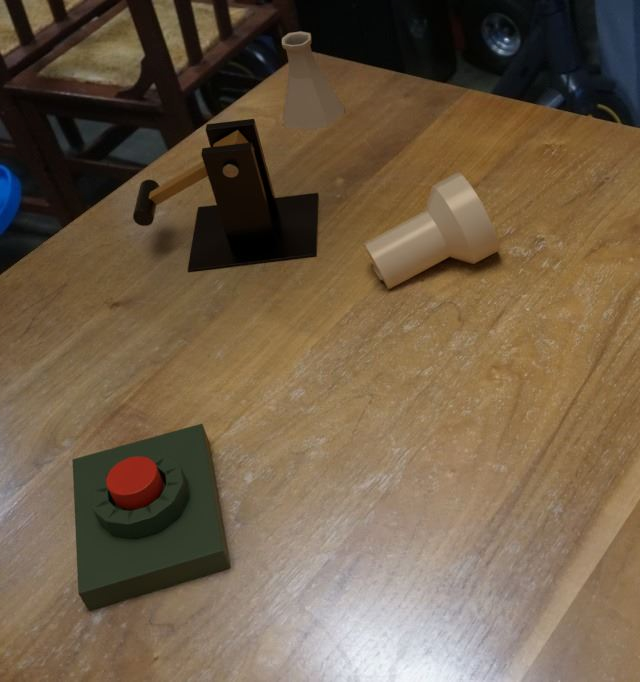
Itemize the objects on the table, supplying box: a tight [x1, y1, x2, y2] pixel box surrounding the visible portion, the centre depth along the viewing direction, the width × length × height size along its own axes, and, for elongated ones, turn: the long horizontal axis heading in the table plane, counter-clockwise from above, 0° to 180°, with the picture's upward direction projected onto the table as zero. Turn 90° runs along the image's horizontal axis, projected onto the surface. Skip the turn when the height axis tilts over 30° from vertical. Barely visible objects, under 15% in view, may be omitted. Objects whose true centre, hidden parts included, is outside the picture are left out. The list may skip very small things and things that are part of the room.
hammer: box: [132, 130, 254, 227], centre depth 101 cm, size 12×5×2 cm, turn 96°
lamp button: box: [106, 456, 163, 510], centre depth 79 cm, size 4×4×2 cm
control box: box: [72, 423, 232, 612], centre depth 81 cm, size 13×10×4 cm
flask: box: [281, 30, 345, 132], centre depth 119 cm, size 7×7×10 cm
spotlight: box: [362, 172, 501, 290], centre depth 100 cm, size 8×11×8 cm
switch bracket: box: [187, 118, 320, 273], centre depth 103 cm, size 12×10×12 cm
